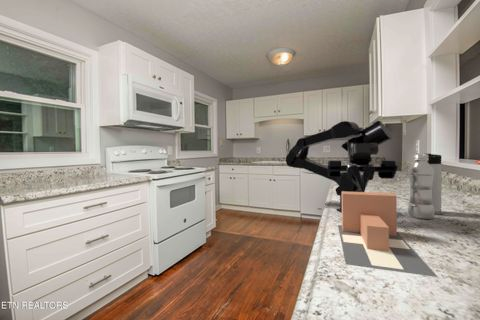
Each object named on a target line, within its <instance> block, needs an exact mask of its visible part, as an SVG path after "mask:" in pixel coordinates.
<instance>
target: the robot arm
mask: <svg viewBox="0 0 480 320" xmlns="http://www.w3.org/2000/svg"><path fill="white" fill-rule="evenodd" d="M392 139H394V138H393V134H392V132H391V130H390V129H389V128H388V127H387V126H386V125H385V124H384V123H383V122H382V121H381V120H377V121H374V122H373V123H372V124H371V125H369V126H367V127H366V128H362V127H360V126H359V125H358V124H357V123H356V122H354V121H347V120H343V121H340V122H338V123H336V124H334V125H333V126H331V127H330V128H329V129H327V130H324V131H320V132H318V133H315V134H311V135H309V136H305V137H300V138H299V139H297V140H296V141H297V142H296V143H295V144H294V145H293V146H292V148H291V149H290V150H289V152H288V153H287V155H286V157H285V163H286V165H287V167H289V168H296V169H304V170H305V171H308V172H311V173H314V174H315V175H318V176H321V177H323V178H326V179H328V180H330V181H332V182H335V183H336V184H337V186H338V187H336V188H335V192H336V193H335V194H336V196H339V208H336V211H338V212H341V213H342V191H346V192H366V189H367V186H368V183H369V181H372V180H374V176H375V173H377V175H378V177H379V178H380V179H388V180H389V179H390V180H391V179H394V178H395V176H396V172H397V170H398V162H396V161H395V160H379V164H370V163H372V156H373V155H378V154H379V146H380V145H382V144H383V143H386V142H388V141H390V140H392ZM334 140H346V141H345V142H344V143H342V144H341V147H340V148H342V149H344V150H345V151H346V152H347V157H348V163H347V165H343V164H342V160H329V161H328V162H327V165H325V164H323V163H320V162H317V161H314V160H311V159H310V158H309V157H308V155H309V150H310V149H309V148H311V147H312V146H315V145H316V146H317V145H319V144H322V143H327V142H330V141H334Z"/></svg>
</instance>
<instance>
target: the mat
mask: <svg viewBox="0 0 480 320" xmlns="http://www.w3.org/2000/svg"><path fill="white" fill-rule="evenodd" d="M337 228H338V232H339V239H340V242H341V243H340V244H341V247H342V252H343V257H344V262H345V265H349V266H355V267H362V268H363V267H364V268H369V269H370V268H371V269H376V270H377V269H378V270H384V271H391V272H399V273H406V274H413V275H420V276H427V277H435V278H439V276H438V275H437V273H435V272H434V271H433V270H432V268H431V267H430V266H429V265H428V264H427V263H426V262H425V260H424V259H422V257H421V256H420V255H419V254H418V253H417V252H416V251H415V250H414V249H413V247H412V246H411V245H410V244H409V243H408V242H407V241H406V240H405V239H404V237H402V235H400V233H399V232H398V231H397V236H389V251H384V250H375V249H367V247H366V245H365V242H364V240H363V238H362V236H361V234H360V233H356V232H345V231H343V229H342V224H338V225H337Z"/></svg>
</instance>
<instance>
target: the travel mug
mask: <svg viewBox="0 0 480 320" xmlns="http://www.w3.org/2000/svg"><path fill="white" fill-rule="evenodd" d="M427 154H428V159H429V160H428V161H427V162H428V163H429V165H430V166H431V167H432V168H433V170H434V175H433V176H434V177H433V182H432V202H433V206H434V216H436V215H437V216H439V215H441V214H442V186H443V185H442V183H443V181H442V178H443V176H442V173H443V172H442V170H443V169H442V164H443V163H442V154H434V153H433V154H432V153H427Z"/></svg>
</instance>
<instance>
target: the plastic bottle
mask: <svg viewBox="0 0 480 320" xmlns="http://www.w3.org/2000/svg"><path fill="white" fill-rule="evenodd" d="M428 154H429V153H424V154H423V153H422V154H421V153H420V154H413V157H412V161H413V162H412V164H411V165H410V166H409V167H408V170H407V174H408V175H407V176H408V180H409V202H408V204H407V213H408V214H409V216H410V217H412V218H415V219H420V220H432V219H433V218H434V216H435V215H434V206H433V202H432V182H433V177H434V176H433V175H434V170H433V168H432V167H431V166H430V165H429V163H428V162H427V161H428V160H429V159H428Z"/></svg>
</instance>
